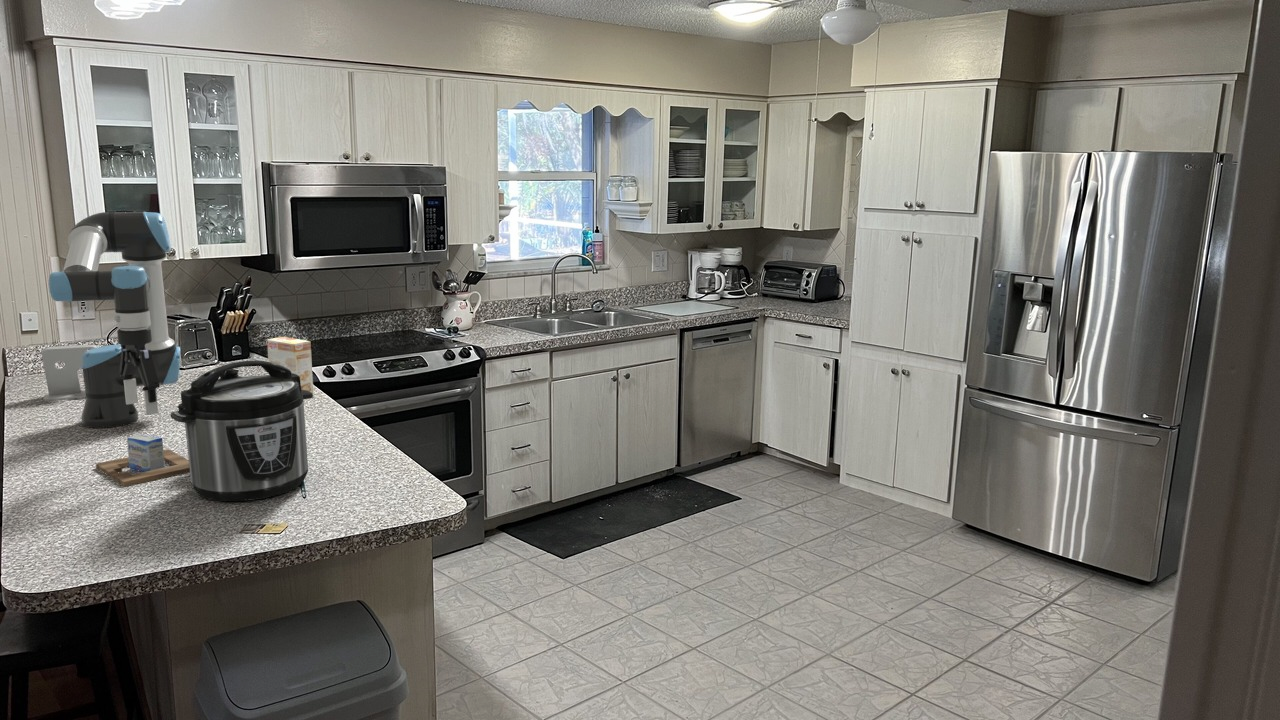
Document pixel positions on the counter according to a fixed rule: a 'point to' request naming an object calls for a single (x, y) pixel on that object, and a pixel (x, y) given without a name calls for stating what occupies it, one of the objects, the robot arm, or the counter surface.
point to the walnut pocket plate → (126, 478)
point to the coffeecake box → (293, 358)
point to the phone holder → (64, 371)
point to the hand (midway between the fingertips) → (141, 408)
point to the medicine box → (145, 452)
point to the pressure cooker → (245, 432)
